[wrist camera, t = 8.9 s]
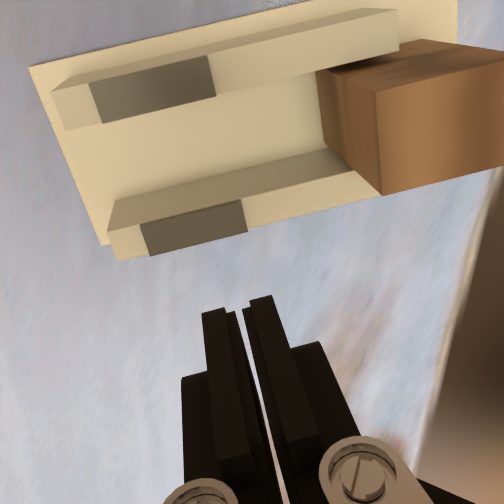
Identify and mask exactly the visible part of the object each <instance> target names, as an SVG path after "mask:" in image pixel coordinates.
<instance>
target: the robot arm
mask: <svg viewBox="0 0 504 504" xmlns="http://www.w3.org/2000/svg"><path fill="white" fill-rule="evenodd" d="M249 302H250V306H251V307H248V308H244V309H242V312H243V316H244V320H245V325H246V329H247V333H248V337H249V342H250V346H251V350H252V354H253V359H254V363H255V367H256V371H257V376H258V380H259V384H260V388H261V393H262V397H263V401H264V405H265V410H266V414H267V418H268V422H269V427H270V431H271V435H272V439H273V443H274V447H275V451H276V454H277V458H278V462H279V465H280V469H281V473H282V476H283V480H284V483H285V487H286V491H287V494H288V498H289V501H290V504H475V503H473V502H470V501H468V500H466V499H463V498H461V497H459V496H456V495H454V494H452V493H450V492H447V491H445V490H443V489H441V488H438V487H436V486H434V485H431V484H429V483H427V482H425V481H422V480H420V479H418V478H415V476H414V475H413V473H412V472H411V471H410V469H409V468H408V466H407V465H406V464H405V462H404V461H403V459H402V458H401V456H400V455H399V454H398V453H397V452H396V451H395V450H394V449H393V448H392V447H391V446H390V445H388V444H386V443H385V442H383V441H381V440H379V439H376V438H372V437H368V436H361V435H360V432H359V430H358V428H357V425H356V423H355V421H354V419H353V416H352V414H351V412H350V409H349V407H348V405H347V403H346V400H345V398H344V396H343V394H342V391H341V389H340V387H339V384H338V382H337V380H336V378H335V375H334V373H333V371H332V368H331V366H330V364H329V362H328V359H327V357H326V355H325V352H324V350H323V348H322V346H321V344H320V342H319V341H317V342H313V343H309V344H305V345H302V346H298V347H294V348H290V346H289V343H288V340H287V337H286V335H285V332H284V329H283V326H282V323H281V320H280V317H279V314H278V312H277V309H276V306H275V303H274V300H273V297H272V295H269V296H265V297H261V298H257V299H253V300H250V301H249ZM202 325H203V334H204V344H205V354H206V363H207V371H204V372H201V373H197V374H193V375H190V376H186V377H182V379H181V399H182V429H183V459H184V485H182V486H180V487H178V488H177V489H176V490H175V491H174V492H173V493H172V494H171V495H169V496H168V497H167V498H166V500H165V502H164V503H163V504H283V501H282V496H281V492H280V488H279V483H278V479H277V474H276V470H275V465H274V461H273V457H272V452H271V448H270V443H269V439H268V435H267V430H266V426H265V421H264V417H263V412H262V408H261V404H260V400H259V396H258V392H257V388H256V385H255V381H254V378H253V374H252V371H251V367H250V363H249V360H248V356H247V353H246V349H245V345H244V342H243V338H242V335H241V331H240V328H239V324H238V320H237V317H236V313H235V311H232V312H229V313H226V310H225V308H224V307H223V308H219V309H215V310H212V311H208V312H204V313H202Z"/></svg>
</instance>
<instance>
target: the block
mask: <svg viewBox="0 0 504 504" xmlns="http://www.w3.org/2000/svg"><path fill="white" fill-rule="evenodd" d="M315 74H316V82H317V89H318V97H319V105H320V113H321V121H322V128H323V136H324V142H325V143H326V144H327V145H328V146H329V147H330V148H331V149H332V150H333V151H334V152H335V153H336V154H338V155H339V156H340V157H341V158H342V159H343V160H344V161H345V162H346V163H347V164H348V165H349V166H350V167H352V168H353V169H354V170H355V171H356V172H357V173H358V174H359V175H360V176H361V177H362V178H363V179H365V180H366V181H367V182H368V183H369V184H370V185H371V186H372V187H373V188H374V189H375V190H376V191H377V192H379V193H380V194H381V195H382V196H385V195H389V194H393V193H397V192H401V191H405V190H409V189H413V188H417V187H421V186H424V185H428V184H432V183H436V182H440V181H444V180H448V179H452V178H456V177H460V176H464V175H468V174H472V173H476V172H480V171H484V170H488V169H492V168H496V167H500V166H504V51H498V50H492V49H485V48H479V47H473V46H466V45H460V44H453V43H447V42H441V41H434V40H428V39H418V40H414V41H410V42H406V43H402V44H399V51H396V52H392V53H388V54H383V55H379V56H375V57H371V58H367V59H363V60H359V61H355V62H350V63H346V64H342V65H338V66H334V67H330V68H326V69H321V70H317V71H315Z"/></svg>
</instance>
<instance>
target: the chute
mask: <svg viewBox="0 0 504 504" xmlns="http://www.w3.org/2000/svg"><path fill="white" fill-rule="evenodd" d="M457 8H458V0H308V1H304V2H300V3H295V4H291V5H287V6H283V7H278V8H274V9H270V10H266V11H262V12H257V13H253V14H249V15H245V16H240V17H236V18H232V19H228V20H223V21H219V22H215V23H211V24H207V25H202V26H198V27H194V28H190V29H185V30H181V31H177V32H173V33H168V34H164V35H160V36H156V37H152V38H147V39H143V40H139V41H135V42H130V43H126V44H122V45H118V46H113V47H109V48H105V49H101V50H97V51H92V52H88V53H84V54H80V55H75V56H71V57H67V58H63V59H58V60H54V61H50V62H46V63H42V64H37V65H33V66H31V67H28V69H29V72H30V74H31V77H32V79H33V81H34V84H35V86H36V89H37V91H38V94H39V96H40V98H41V101H42V103H43V106H44V108H45V110H46V113H47V115H48V118H49V120H50V123H51V125H52V127H53V130H54V132H55V135H56V137H57V139H58V142H59V144H60V147H61V149H62V152H63V154H64V156H65V159H66V161H67V164H68V166H69V168H70V171H71V173H72V176H73V178H74V181H75V183H76V185H77V188H78V190H79V193H80V195H81V198H82V200H83V202H84V205H85V207H86V210H87V212H88V214H89V217H90V219H91V222H92V224H93V227H94V229H95V231H96V234H97V236H98V239H99V241H100V243H101V246H104V245H108V244H111V246H112V248H113V251H114V253H115V256H116V258H117V261H122V260H126V259H130V258H134V257H138V256H142V255H146V254H149V255H150V256H154V255H158V254H162V253H166V252H170V251H174V250H178V249H182V248H186V247H190V246H194V245H197V244H201V243H205V242H209V241H213V240H217V239H221V238H225V237H229V236H233V235H237V234H241V233H245V232H248V229H249V228H253V227H256V226H260V225H264V224H268V223H272V222H276V221H280V220H284V219H288V218H292V217H296V216H300V215H304V214H308V213H312V212H316V211H320V210H324V209H328V208H332V207H336V206H340V205H343V204H347V203H351V202H355V201H359V200H363V199H367V198H371V197H375V196H379V195H381V194H380V193H379V192H377V191H376V190H375V189H374V188H373V187H372V186H371V185H370V184H369V183H368V182H367V181H366V180H365V179H363V178H362V177H361V176H360V175H359V174H358V173H357V172H356V171H355V170H354V169H353V168H352V167H350V166H349V165H348V164H347V163H346V162H345V161H344V160H343V159H342V158H341V157H340V156H339V155H338V154H336V153H335V152H334V151H333V150H332V149H331V148H330V147H329V146H328V145H327V144H326V143H325V142H324V136H323V128H322V121H321V113H320V105H319V97H318V89H317V82H316V74H315V71H317V70H321V69H326V68H330V67H334V66H338V65H342V64H346V63H350V62H355V61H359V60H363V59H367V58H371V57H375V56H379V55H383V54H388V53H392V52H396V51H399V44H402V43H406V42H410V41H414V40H418V39H428V40H434V41H441V42H447V43H453V44H457Z"/></svg>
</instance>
